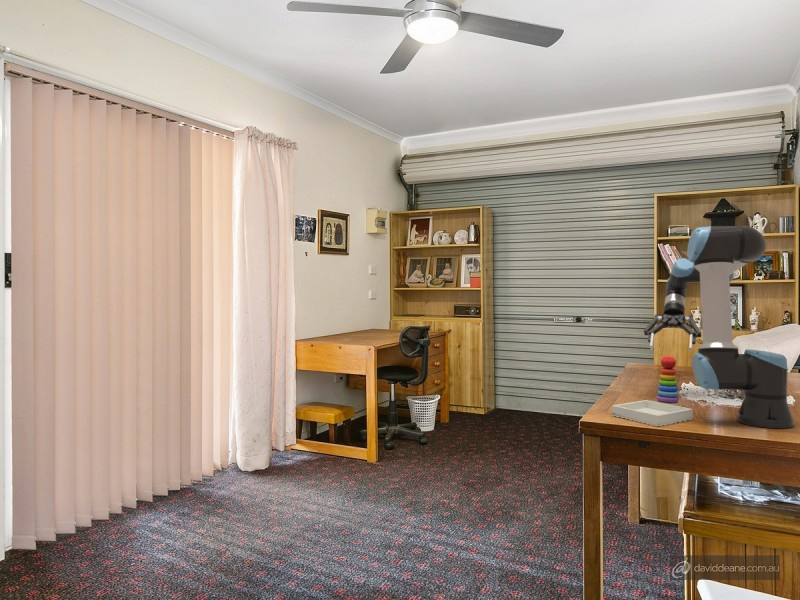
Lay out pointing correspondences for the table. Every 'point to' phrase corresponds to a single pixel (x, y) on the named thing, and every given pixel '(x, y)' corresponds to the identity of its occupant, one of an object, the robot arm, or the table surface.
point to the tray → (652, 412)
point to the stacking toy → (668, 383)
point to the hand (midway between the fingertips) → (670, 349)
